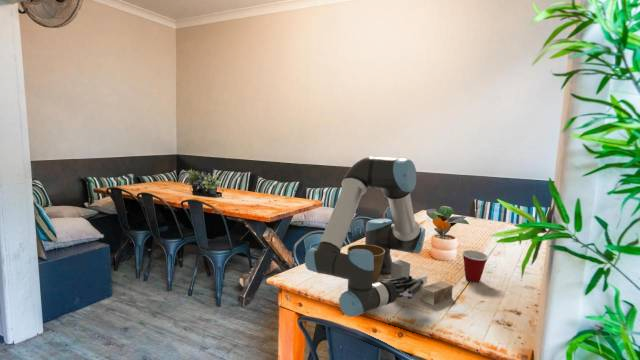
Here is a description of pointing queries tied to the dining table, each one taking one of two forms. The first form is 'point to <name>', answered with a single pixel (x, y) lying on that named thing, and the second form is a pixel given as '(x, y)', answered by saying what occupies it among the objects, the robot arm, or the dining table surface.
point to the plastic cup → (474, 265)
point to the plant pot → (378, 257)
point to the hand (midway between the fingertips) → (425, 278)
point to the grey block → (400, 269)
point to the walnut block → (437, 292)
